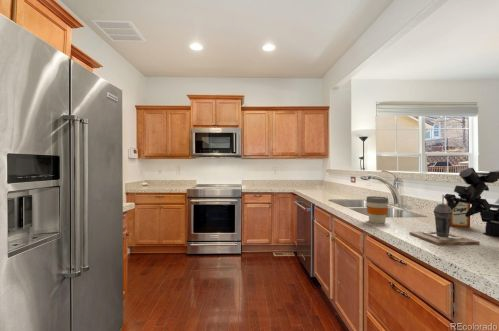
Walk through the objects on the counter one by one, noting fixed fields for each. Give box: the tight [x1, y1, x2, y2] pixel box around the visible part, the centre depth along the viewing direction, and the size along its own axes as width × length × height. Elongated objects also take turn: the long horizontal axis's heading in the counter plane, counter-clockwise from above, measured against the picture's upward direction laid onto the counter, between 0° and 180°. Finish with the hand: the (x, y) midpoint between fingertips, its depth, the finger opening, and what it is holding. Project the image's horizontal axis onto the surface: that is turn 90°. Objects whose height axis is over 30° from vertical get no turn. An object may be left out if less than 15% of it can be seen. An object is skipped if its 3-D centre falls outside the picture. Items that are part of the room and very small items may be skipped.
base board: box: [409, 230, 480, 246], centre depth 124 cm, size 20×18×2 cm
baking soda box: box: [445, 199, 471, 228], centre depth 151 cm, size 10×6×16 cm
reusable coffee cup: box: [365, 195, 389, 224], centre depth 161 cm, size 12×13×15 cm
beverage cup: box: [433, 194, 453, 238], centre depth 124 cm, size 7×7×20 cm
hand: (456, 214), depth 125 cm, fingers open, 9 cm apart
